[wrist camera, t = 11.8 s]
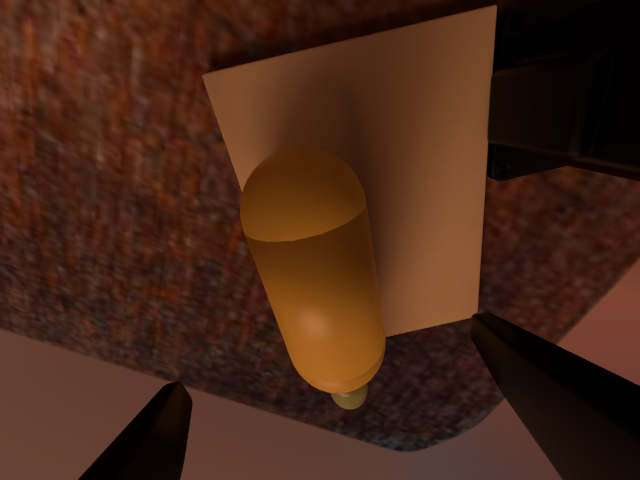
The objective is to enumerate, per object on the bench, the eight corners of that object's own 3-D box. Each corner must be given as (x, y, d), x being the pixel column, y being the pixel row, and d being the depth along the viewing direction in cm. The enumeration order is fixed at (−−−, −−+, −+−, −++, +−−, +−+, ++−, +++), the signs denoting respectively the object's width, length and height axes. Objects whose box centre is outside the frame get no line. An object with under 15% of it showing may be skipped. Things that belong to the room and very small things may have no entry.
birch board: (487, 8, 10) (498, 3, 10) (471, 309, 17) (477, 316, 17) (205, 75, 11) (200, 73, 10) (298, 348, 17) (299, 356, 17)
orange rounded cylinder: (379, 355, 17) (408, 433, 13) (308, 372, 17) (314, 455, 13) (343, 127, 11) (374, 139, 7) (233, 153, 11) (201, 180, 7)
